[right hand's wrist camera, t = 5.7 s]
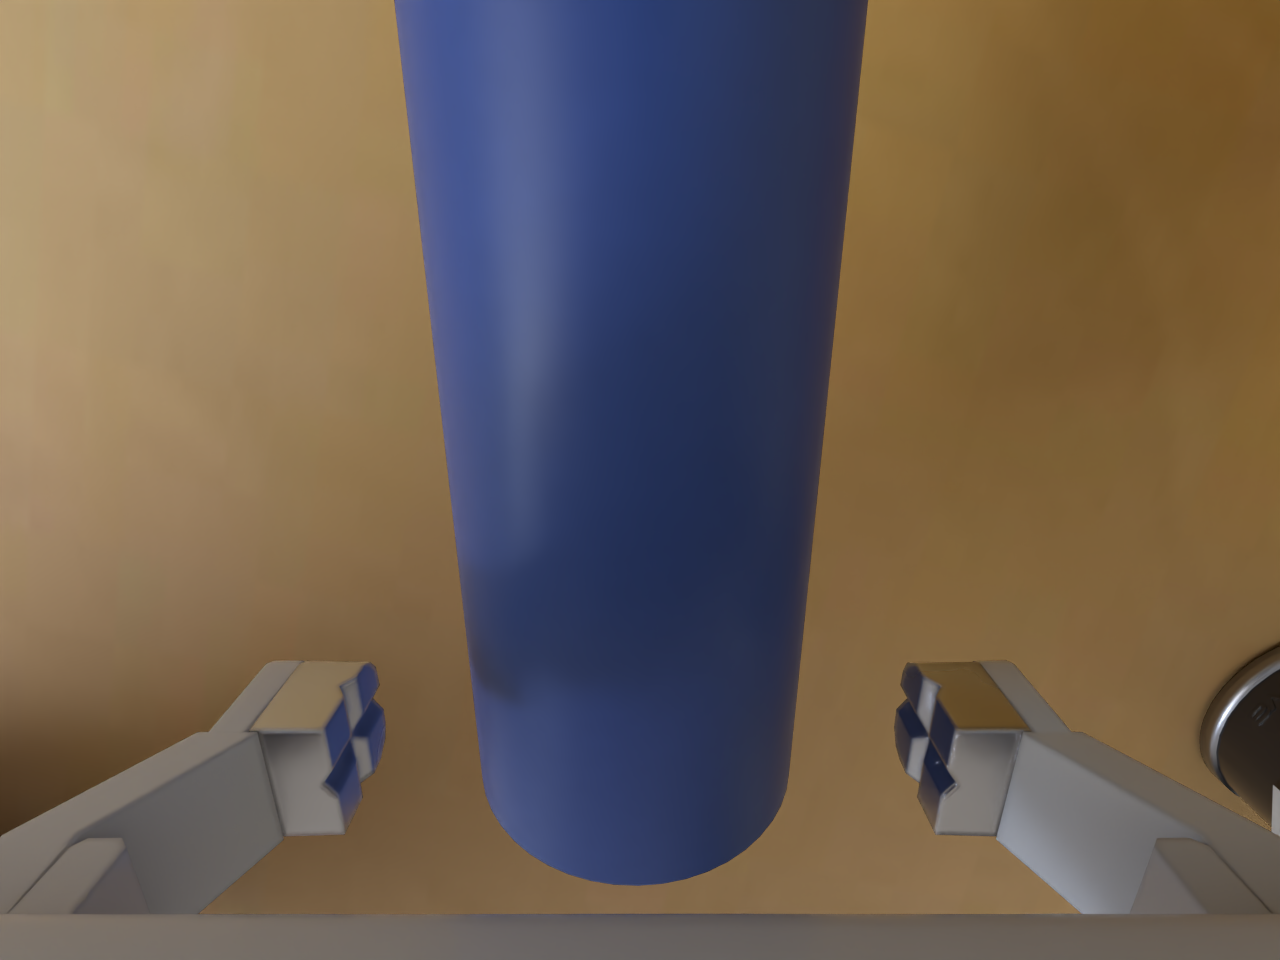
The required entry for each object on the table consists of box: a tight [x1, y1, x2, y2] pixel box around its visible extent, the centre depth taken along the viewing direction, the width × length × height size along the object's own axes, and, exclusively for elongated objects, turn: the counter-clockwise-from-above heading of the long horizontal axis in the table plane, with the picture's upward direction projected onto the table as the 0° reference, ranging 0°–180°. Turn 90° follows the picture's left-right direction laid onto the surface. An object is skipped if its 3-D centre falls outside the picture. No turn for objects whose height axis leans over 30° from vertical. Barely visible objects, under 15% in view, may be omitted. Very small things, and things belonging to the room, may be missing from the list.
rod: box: [394, 0, 868, 886], centre depth 10 cm, size 23×6×6 cm, turn 0°
